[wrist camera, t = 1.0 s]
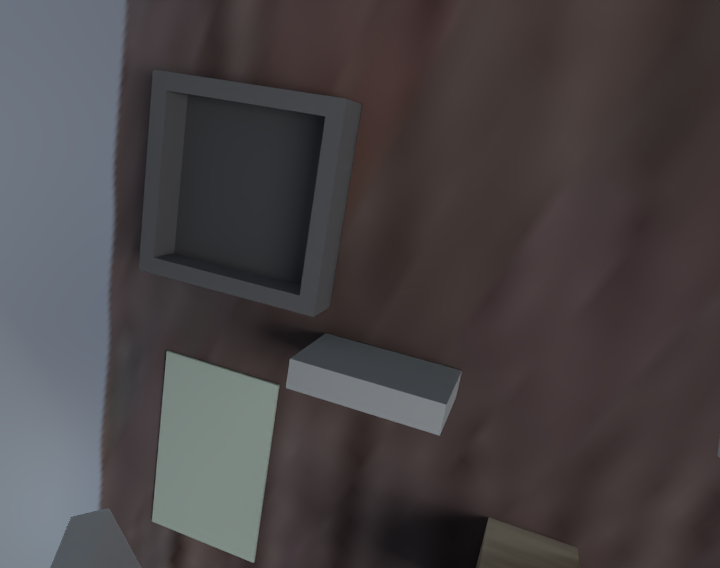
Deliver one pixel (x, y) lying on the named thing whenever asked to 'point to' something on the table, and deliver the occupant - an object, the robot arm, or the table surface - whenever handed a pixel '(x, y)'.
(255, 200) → the tray
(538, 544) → the birch block
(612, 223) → the table surface
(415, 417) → the walled passage
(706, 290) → the table surface
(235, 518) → the pad
